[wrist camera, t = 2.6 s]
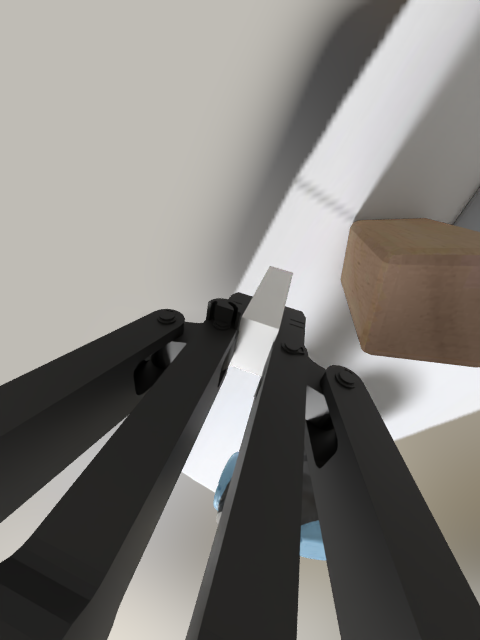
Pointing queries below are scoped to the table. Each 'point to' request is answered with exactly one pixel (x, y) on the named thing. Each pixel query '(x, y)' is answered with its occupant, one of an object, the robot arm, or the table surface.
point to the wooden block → (414, 289)
